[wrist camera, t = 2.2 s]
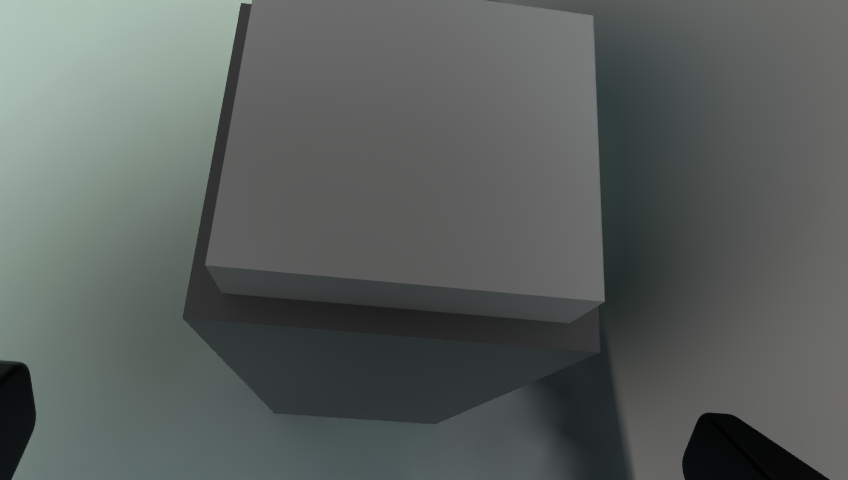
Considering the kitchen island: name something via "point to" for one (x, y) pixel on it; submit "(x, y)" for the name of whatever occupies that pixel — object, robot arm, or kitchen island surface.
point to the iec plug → (401, 205)
